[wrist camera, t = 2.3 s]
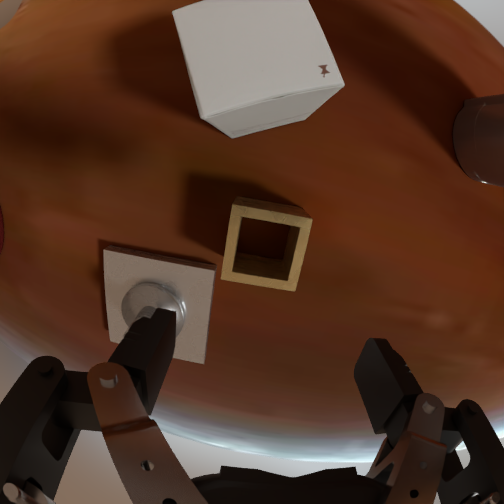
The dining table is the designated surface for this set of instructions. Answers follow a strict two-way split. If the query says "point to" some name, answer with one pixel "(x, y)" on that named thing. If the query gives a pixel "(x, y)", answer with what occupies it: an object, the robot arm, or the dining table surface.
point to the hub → (260, 267)
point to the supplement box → (256, 62)
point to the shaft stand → (159, 296)
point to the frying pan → (1, 231)
